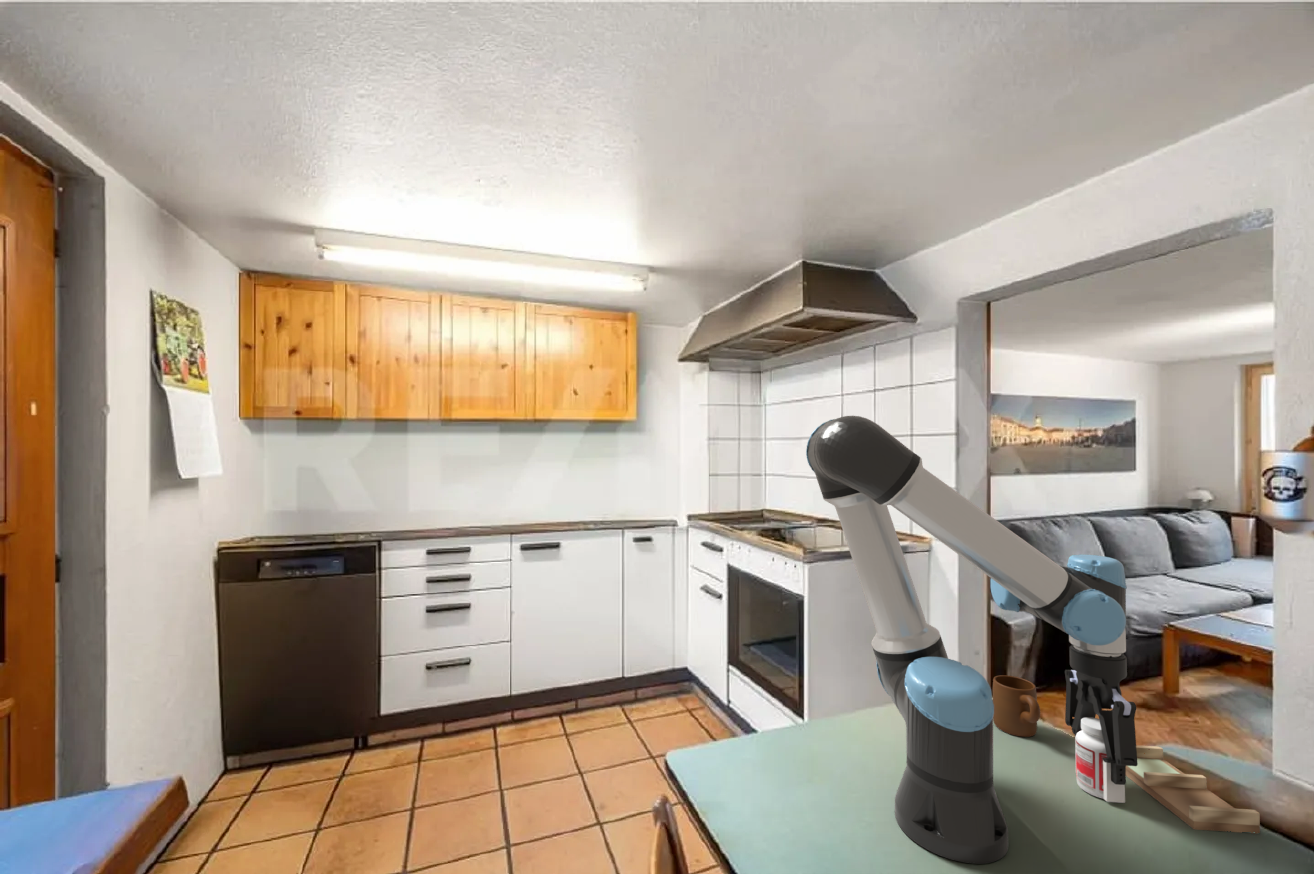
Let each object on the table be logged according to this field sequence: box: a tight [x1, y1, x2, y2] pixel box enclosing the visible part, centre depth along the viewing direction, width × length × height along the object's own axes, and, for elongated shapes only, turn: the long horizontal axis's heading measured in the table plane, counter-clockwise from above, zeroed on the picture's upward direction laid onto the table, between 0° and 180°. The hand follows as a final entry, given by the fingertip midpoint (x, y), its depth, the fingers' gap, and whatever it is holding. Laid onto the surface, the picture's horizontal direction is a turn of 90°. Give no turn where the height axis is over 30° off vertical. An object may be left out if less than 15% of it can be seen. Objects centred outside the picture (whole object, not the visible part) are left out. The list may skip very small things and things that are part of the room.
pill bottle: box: [1075, 717, 1107, 800], centre depth 92 cm, size 6×6×11 cm
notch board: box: [1126, 744, 1261, 834], centre depth 91 cm, size 9×18×3 cm, turn 174°
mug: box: [992, 674, 1041, 738], centre depth 110 cm, size 12×8×9 cm, turn 174°
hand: (1099, 787), depth 92 cm, fingers closed on pill bottle, 6 cm apart
